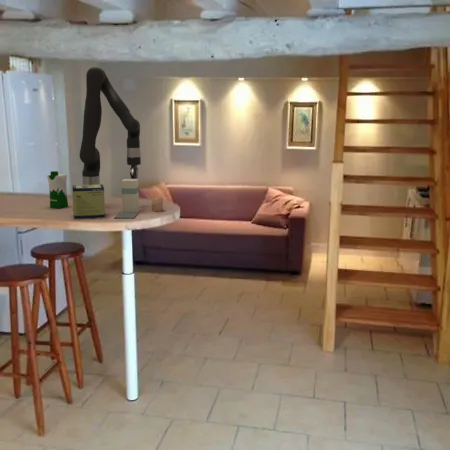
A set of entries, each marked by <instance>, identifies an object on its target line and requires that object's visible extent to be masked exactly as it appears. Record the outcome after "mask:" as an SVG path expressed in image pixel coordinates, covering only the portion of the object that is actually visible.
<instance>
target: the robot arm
mask: <svg viewBox="0 0 450 450" xmlns="http://www.w3.org/2000/svg"><path fill="white" fill-rule="evenodd" d="M85 79H86V81H85V82H86V83H85V84H86V85H85V86H86V93H85V94H86V95H85V101H84V110H83V118H82V119H83V121H82V125H83V126H82V139H81V145H80V149H79V159H80V161H81V162H82V163H83V169H82V171H81V176H82V178H81V179H82V185H99V184H101V181H100V177H101V176H100V171H101V153H100V151H99V149H98V148H97V147H96V142H97V141H96V140H97V136H98V134H99V131H100V127H101V123H102V113H103V110H102V108H103V107H102V101H101V93H102V94H103V95H104V97H105V99H106V100H107V102H108V104H109V106H110V108H111V109H112V111H113V112H114V113H115V114H116V116H117V117H118V118H119V120H120V121H121V123H122V125H123V127H124V128H125V129H126V131H127V138H126V165H127V166H130V168H129V175H130V179H139V177H138V175H139V167H138V166H141V163H142V161H141V159H142V158H141V157H142V156H141V143H140V142H141V141H140V133H141V125H140V122H139V120H138V119H135V118H134V116H133V115H132V113H131V111H130V109H129V108H128V106H127V105H126V104H125V101H123V99H122V98H121V97H120V95H119V94H118V93H117V91H116V90H115V89H114V87H113V86H112V84H111V81H110V80H109V78H108V76H107V74H106V72H105V70H104V69H102V68H100V67H97V66H93V67H90V68H89V69H88V70H87V72H86V75H85Z"/></svg>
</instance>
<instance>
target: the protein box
mask: <svg viewBox="0 0 450 450" xmlns="http://www.w3.org/2000/svg"><path fill="white" fill-rule="evenodd" d="M105 204H106V203H105V187H104V185H103V184H101V183H100V184H99V185H83V184H79V185H78V184H77V185H75V184H73V185H72V209H73V211H72V213H73V219H74V220H75V219H77V220H78V219H96V218H100V219H101V218H106V210H105Z"/></svg>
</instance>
